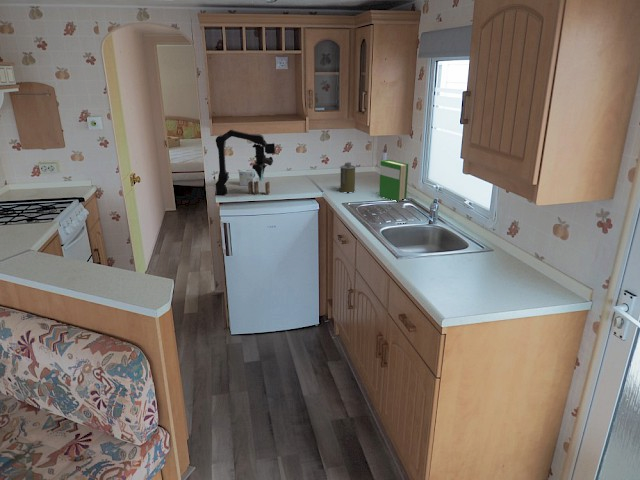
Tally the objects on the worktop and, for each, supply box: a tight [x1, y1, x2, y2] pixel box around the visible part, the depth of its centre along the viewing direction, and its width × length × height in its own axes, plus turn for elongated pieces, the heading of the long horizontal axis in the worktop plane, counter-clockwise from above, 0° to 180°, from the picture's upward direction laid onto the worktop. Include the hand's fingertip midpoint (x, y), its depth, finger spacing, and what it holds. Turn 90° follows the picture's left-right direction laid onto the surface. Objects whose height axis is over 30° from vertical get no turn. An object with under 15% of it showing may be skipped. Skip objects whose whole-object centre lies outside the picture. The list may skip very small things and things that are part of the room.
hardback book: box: [378, 159, 409, 202], centre depth 300 cm, size 18×7×24 cm, turn 36°
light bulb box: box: [238, 169, 256, 187], centre depth 339 cm, size 11×7×11 cm, turn 84°
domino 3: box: [264, 181, 271, 196], centre depth 315 cm, size 2×5×8 cm, turn 171°
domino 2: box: [253, 181, 259, 195], centre depth 316 cm, size 2×5×8 cm, turn 171°
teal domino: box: [258, 169, 265, 182], centre depth 312 cm, size 2×5×8 cm, turn 171°
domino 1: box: [247, 181, 254, 195], centre depth 317 cm, size 2×5×8 cm, turn 171°
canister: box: [339, 161, 356, 193], centre depth 317 cm, size 11×10×20 cm
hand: (261, 176), depth 313 cm, fingers closed on teal domino, 5 cm apart
